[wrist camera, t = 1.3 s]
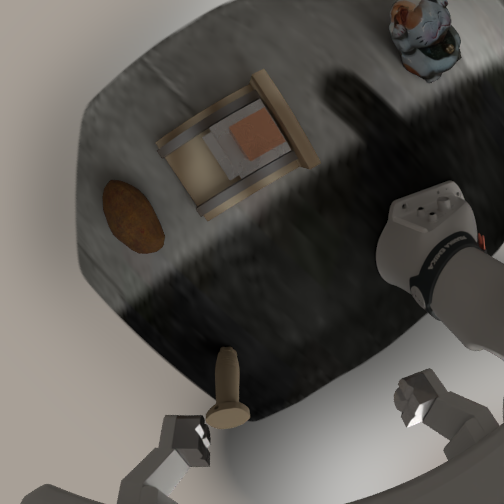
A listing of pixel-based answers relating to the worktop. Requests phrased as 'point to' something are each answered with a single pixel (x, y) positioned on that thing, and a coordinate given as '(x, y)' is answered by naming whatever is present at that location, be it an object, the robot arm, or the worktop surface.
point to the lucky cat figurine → (424, 37)
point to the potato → (132, 217)
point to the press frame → (207, 167)
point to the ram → (246, 140)
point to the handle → (227, 393)
